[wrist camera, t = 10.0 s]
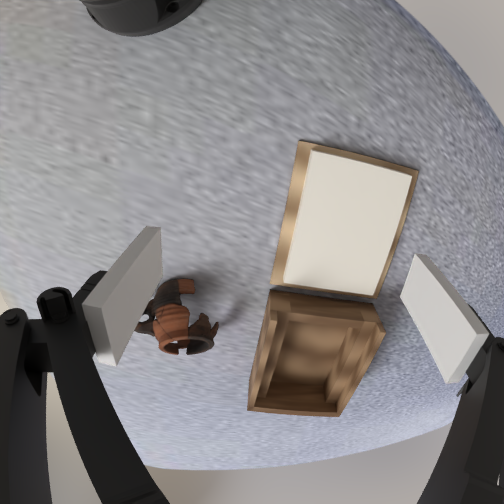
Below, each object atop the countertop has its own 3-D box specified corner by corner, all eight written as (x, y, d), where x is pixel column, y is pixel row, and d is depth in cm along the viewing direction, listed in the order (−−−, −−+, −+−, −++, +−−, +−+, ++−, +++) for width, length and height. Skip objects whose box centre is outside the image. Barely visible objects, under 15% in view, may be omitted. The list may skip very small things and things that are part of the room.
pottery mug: (215, 273, 40) (223, 332, 36) (212, 306, 48) (218, 356, 43) (124, 276, 38) (121, 336, 33) (135, 309, 45) (135, 360, 40)
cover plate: (311, 149, 32) (312, 150, 31) (406, 173, 33) (412, 176, 31) (283, 276, 39) (283, 282, 38) (369, 289, 39) (372, 295, 38)
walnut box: (270, 289, 40) (270, 320, 34) (372, 303, 41) (386, 332, 35) (249, 379, 48) (247, 410, 42) (333, 387, 48) (339, 416, 43)
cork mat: (298, 140, 32) (298, 140, 32) (417, 170, 33) (418, 171, 32) (269, 282, 40) (269, 283, 40) (376, 297, 40) (376, 298, 40)
